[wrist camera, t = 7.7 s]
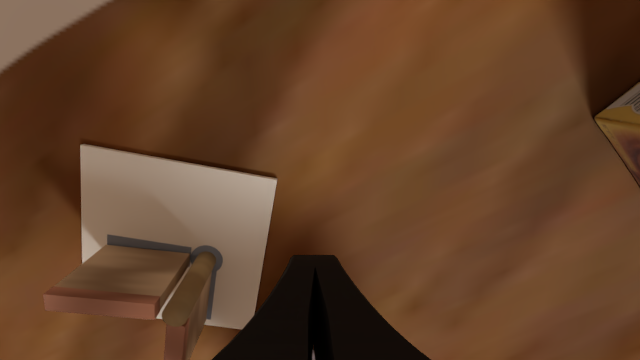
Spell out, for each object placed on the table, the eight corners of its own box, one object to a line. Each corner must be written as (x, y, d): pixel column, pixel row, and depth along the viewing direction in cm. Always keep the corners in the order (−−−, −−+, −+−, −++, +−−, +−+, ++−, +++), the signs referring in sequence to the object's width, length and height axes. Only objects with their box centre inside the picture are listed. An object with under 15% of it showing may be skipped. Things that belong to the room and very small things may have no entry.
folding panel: (189, 252, 20) (154, 304, 15) (189, 265, 20) (154, 320, 15) (105, 244, 19) (43, 294, 15) (106, 257, 20) (45, 310, 15)
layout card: (252, 327, 22) (251, 331, 22) (85, 305, 21) (82, 309, 21) (277, 178, 19) (276, 180, 19) (83, 143, 18) (79, 145, 18)
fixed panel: (210, 317, 22) (180, 390, 17) (192, 314, 22) (156, 387, 16) (218, 250, 20) (188, 307, 15) (199, 247, 20) (162, 304, 15)
